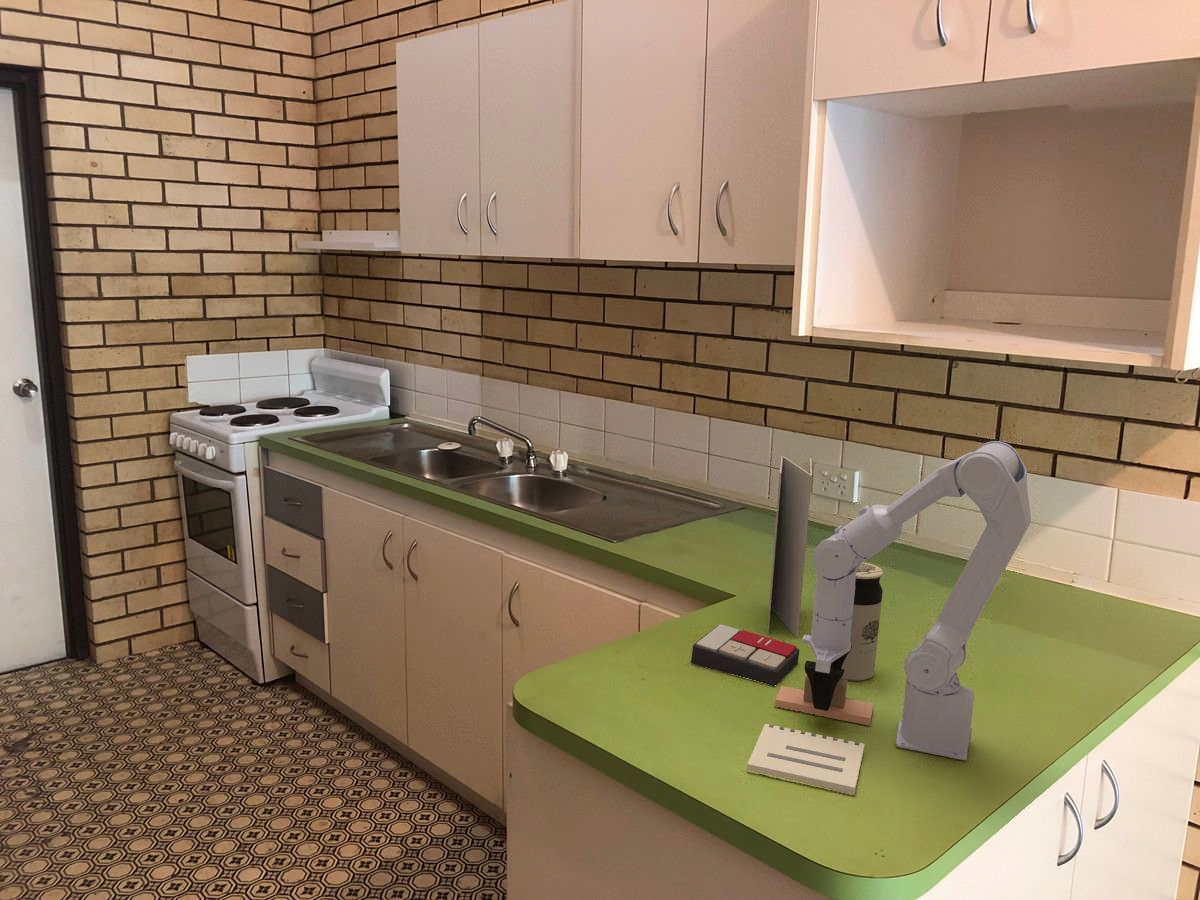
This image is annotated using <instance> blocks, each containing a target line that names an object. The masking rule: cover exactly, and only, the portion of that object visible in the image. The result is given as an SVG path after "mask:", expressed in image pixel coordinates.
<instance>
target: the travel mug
mask: <svg viewBox="0 0 1200 900" xmlns="http://www.w3.org/2000/svg"><path fill="white" fill-rule="evenodd" d="M883 575H884V571H883V569H881V567H879V566H877V565H875V564H872V563H868V562H865V561H863V562H862V563H861V564H860V566H858V567H857V568H856V580H855V595H854V605H853V615H852V626H851V636H850V642H851V644H852V648H851V651H850V652H849V654H848V655H847V657H846V658H845V660H844V663H843V665H842V668H841V669H844V670H845V671H844V674H843V676H842V677H841V679H844V680H848V681H851V682H852V681H854V682H855V681H856V682H857V681H858V682H859V681H864V680H868V679H871V678H872V677H873V676H874V675H875V667H876V658H877V652H878V651H877V649H878V641H879V640H878V639H879V632H880V631H879V630H880V621H881V620H880V619H881V611H882V600H883V591H884V590H883V588H882V586H881V583H880V581H881V577H882V576H883Z"/></svg>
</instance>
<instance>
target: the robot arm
mask: <svg viewBox="0 0 1200 900" xmlns="http://www.w3.org/2000/svg"><path fill="white" fill-rule="evenodd" d="M1021 458H1022V457H1020V455H1019V453H1018V451H1017V450H1016V448H1014V447H1013V446H1012V445H1011V444H1009V443H1006V442H1003V441H997V440H992V441H988V442H985V443H983V444H982V445H980V446H979V447H978V448H977V449H976V450H975V451H973V452H972V451H970V452H969V451H968V452H967V453H966V454H964V455H961V456H959V457H958V458H956V459H954V460H951V461H949V462H948V463H946V464H944V465H943V466H941V467H939V468H937V469H936V470H934V471H933V472H932V473H931V474H929V475H927V476H926V477H925V478H924V479H923V480H921V481H920V482H918V484H915V485H914V487H912V488H911V489H909V490H908V491H907V492H906V493H904V494H903V495H902V496H900V497H899V498H898V499H896V500H895V501H893V503H891V504H890V505H886V504H885V505H884V504H881V503H880V504H877V503H876V504H873V505H872V506H871V507H870V506H869V505H868V504H866V505H865V506H863V507H862V508H861V509H859V510H858V511H857V512H858V514H859V515H858V516H856V517H855V518H854V519H852V520H851V521H850V522H848V523H847V524H845V525H844V526H843V525H839V526H837V527H836V528H834V533H835V534H832V535H831V536H830V537H828V538H826V539H823V540H821V541H820V542H819V544H818V545H817V546H816V547H815V548H814V551H813V553H812V564H813V567H814V568H815V570H816V579H815V587H814V600H813V610H812V611H813V612H812V621H811V633H810V634H804V635H803V637H802V642H801V643H802V644H805V645H809V647H810V649H811V651H812V653H813V655H814V657H815V659H816V660H815V661H811V660H806V661H805V663H804V668H803V669H804V671H805V674H806V676H808V679H809V681H810V685H811V691H812V699H813V705H814V708H815V709H819V710H825V711H828V710H829V707H830V704H831V701H832V697H833V694H834V690H835V687H836V685H837V683H838V682H839V680H840V679H842V678H841V677H842V676H843V674H844V671H845V670H844V669H841V668H842V665H843V663H844V660H845V658H846V657H847V655H848V654H849V652H850V651H851V648H852V644H851V642H850V636H851V626H852V615H853V605H854V595H855V580H856V568H857V567H858V566H860V564H861V563H862V562H865V561H867V560H869V559H870V558H872V557H873V556H875V555H876V554H878V553H879V552H880V551H882V550H884V549H885V548H886V547H888V546H890V545H891V544H893V543H894V542H895V541H897V540H898V539H899V538H901V535H902V529H903V526H904V525H903V524H904V523H906V522H907V521H908V520H910V519H911V518H913V517H914V516H916V515H917V514H919V513H921V512H922V511H924V510H925V509H927V508H928V507H930V506H931V505H933V504H934V503H936V502H937V501H939V500H940V499H943V498H944V497H950V498H961V497H962V496H964V495H965V494H966V496H967V497H968V498H969V499H970V500H971V501H972V502H973V503H974V504H975V505H976V506H977V507H978V508H979V510H980V513H981V515H982V516H983V518H984V520H985V522H986V526H985V528H984V530H983V531H982V534H981V535H980V537H979V540H978V541H977V542H976V545H975V547H974V549H973V551H972V553H971V554H970V556H969V558H968V560H967V562H966V564H965V565H964V567H963V569H962V571H961V574H959V577H958V579H957V581H956V583H955V584H954V586H953V588H952V590H951V592H950V595H948V598H947V600H946V601H945V603H944V606H943V607H942V609H941V611H940V613H939V614H938V617H937V618H936V621H935V622H934V624H933V625H932V627H931V628H930V629H929V630H928V632H927V633H926V634H925V635H924V637H923V638H922V639H921V642H919V644H918V645H917V646H916V647H915V648H914V649H913V650H912V651H910V652H909V653H908V654H907V655H906V658H905V660H904V663H903V664H904V665H903V669H904V674H905V676H906V681H905V687H904V696H903V698H904V699H903V706H902V715H901V716H902V717H901V719H900V720H899V721H898V726H897V732H896V740H895V746H896V747H898V748H901V749H902V748H903V749H906V750H910V751H916V752H921V753H925V754H931V755H935V756H936V755H937V756H941V757H946V758H951V759H955V760H960V761H967V759H968V750H969V743H970V742H971V741H972V734H973V733H972V732H973V728H972V720H973V710H974V701H975V700H974V698H975V690H974V689H972V688H968V687H965V686H963V685H961V681H960V678H959V674H958V673H957V671H958V670H959V668H960V667H961V666H963V664H964V662H965V661H966V658H967V644H968V641H969V639H970V637H971V635H972V630H973V628H975V625H976V623H977V621H978V619H979V618H980V616H981V615H982V612H983V611H984V608H985V607H986V605H987V604H988V601H989V600H990V597H992V594H993V592H994V591H995V589H996V587H997V586H998V584H999V582H1000V579H1001V578H1002V577H1003V575H1004V572H1005V571H1006V568H1007V566H1008V565H1009V563H1010V562H1011V560H1012V558H1013V556H1014V554H1015V553H1016V550H1017V549H1018V547H1019V545H1020V543H1021V542H1022V540H1023V538H1024V536H1025V534H1026V533H1027V531H1028V529H1029V527H1030V524H1031V521H1032V516H1031V510H1030V509H1031V507H1030V499H1029V493H1028V492H1029V491H1028V469H1027V467H1026V465H1025V463H1024V462H1023V460H1022V459H1021Z"/></svg>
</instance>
